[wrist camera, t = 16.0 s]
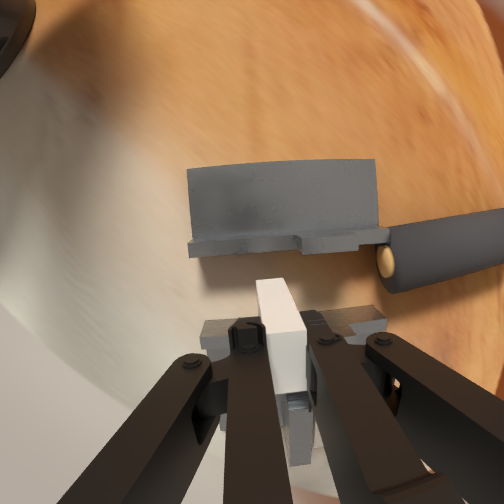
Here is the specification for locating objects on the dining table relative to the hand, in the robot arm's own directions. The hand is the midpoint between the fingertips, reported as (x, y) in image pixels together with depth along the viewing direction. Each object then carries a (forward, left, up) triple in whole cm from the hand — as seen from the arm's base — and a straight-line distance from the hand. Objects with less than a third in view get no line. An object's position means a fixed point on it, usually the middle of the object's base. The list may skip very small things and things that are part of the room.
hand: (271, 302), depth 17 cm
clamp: (+2, -3, -7) cm, 8 cm away
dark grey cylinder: (+17, 0, -7) cm, 19 cm away
